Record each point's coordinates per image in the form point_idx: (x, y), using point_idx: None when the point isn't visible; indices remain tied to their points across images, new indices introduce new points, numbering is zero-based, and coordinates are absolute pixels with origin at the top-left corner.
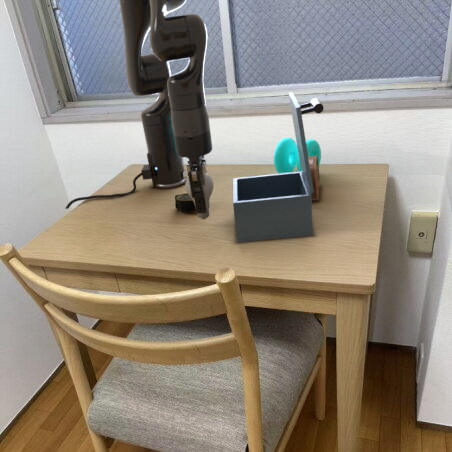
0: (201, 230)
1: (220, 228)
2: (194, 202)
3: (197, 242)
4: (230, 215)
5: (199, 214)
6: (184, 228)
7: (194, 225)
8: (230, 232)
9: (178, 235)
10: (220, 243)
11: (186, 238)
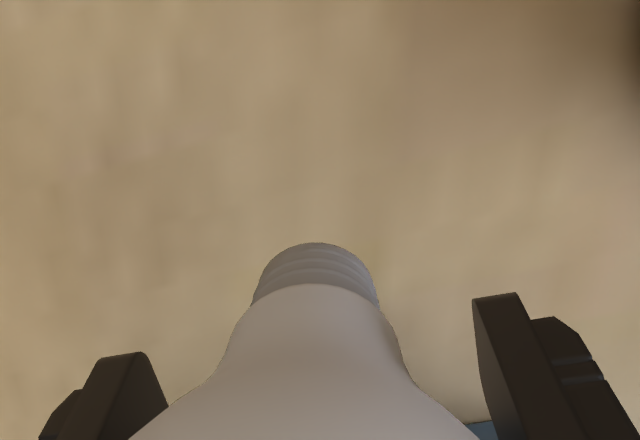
0: (256, 212)
1: None
2: (224, 362)
3: (29, 236)
4: None
5: (257, 292)
6: (296, 33)
7: (364, 120)
8: None
9: (132, 17)
10: (51, 393)
11: (83, 120)
